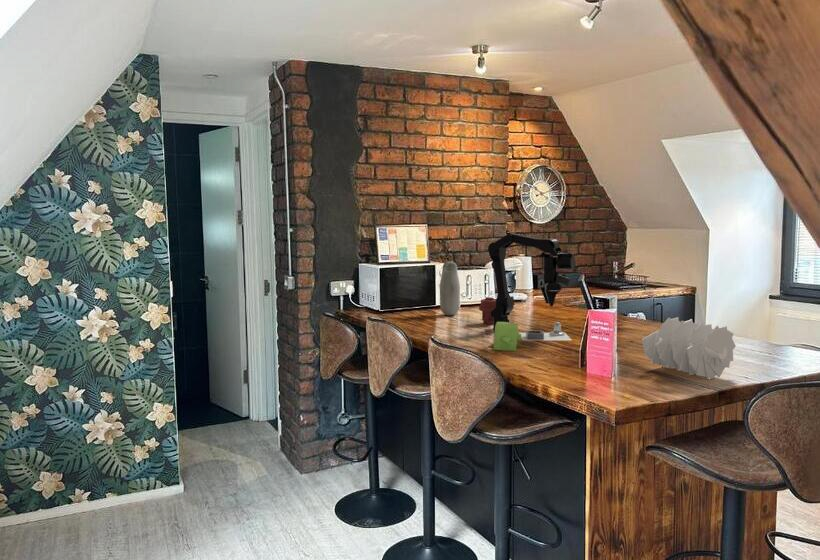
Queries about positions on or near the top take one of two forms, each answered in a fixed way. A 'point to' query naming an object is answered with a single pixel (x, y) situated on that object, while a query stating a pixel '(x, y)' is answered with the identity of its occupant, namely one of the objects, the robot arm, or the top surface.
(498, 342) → the green pegged block
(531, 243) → the robot arm
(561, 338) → the mat
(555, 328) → the silver domed knob
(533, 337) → the square frame
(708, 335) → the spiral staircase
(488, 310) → the mechanical component
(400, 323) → the top surface
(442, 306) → the grey bottle
